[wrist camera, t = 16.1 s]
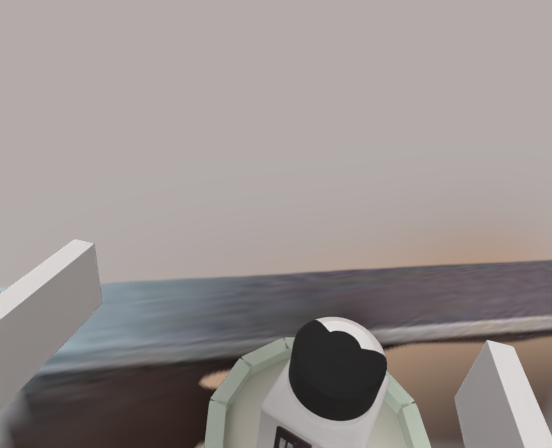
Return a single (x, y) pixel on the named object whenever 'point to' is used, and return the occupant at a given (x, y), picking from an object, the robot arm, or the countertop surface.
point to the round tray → (259, 380)
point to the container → (326, 389)
